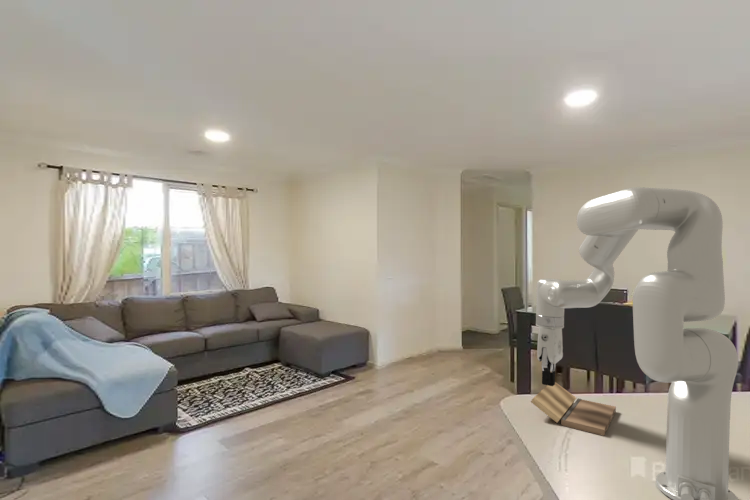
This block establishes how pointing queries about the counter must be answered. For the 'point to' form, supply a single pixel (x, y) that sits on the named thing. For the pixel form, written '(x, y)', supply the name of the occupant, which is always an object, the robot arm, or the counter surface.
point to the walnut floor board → (589, 416)
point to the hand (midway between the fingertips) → (548, 384)
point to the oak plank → (554, 401)
